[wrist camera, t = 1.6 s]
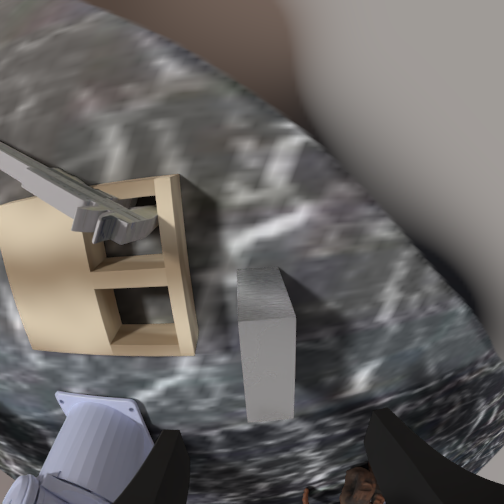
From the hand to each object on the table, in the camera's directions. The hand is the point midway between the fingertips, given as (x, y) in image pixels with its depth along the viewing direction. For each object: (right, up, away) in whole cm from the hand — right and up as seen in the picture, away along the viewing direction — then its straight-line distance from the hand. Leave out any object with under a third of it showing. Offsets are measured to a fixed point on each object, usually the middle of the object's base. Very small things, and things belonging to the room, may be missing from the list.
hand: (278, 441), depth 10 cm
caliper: (-15, +13, +5) cm, 21 cm away
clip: (-1, +3, +9) cm, 10 cm away
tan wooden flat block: (-11, +6, +8) cm, 15 cm away
